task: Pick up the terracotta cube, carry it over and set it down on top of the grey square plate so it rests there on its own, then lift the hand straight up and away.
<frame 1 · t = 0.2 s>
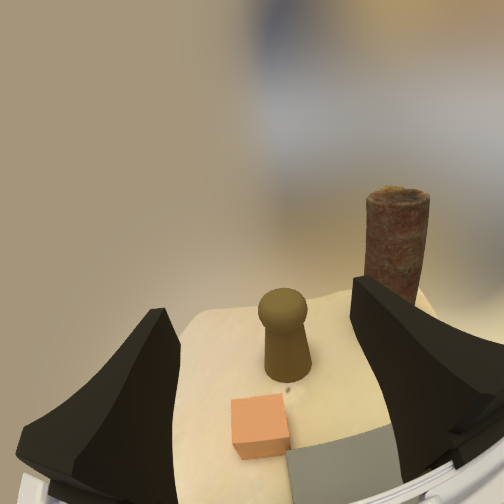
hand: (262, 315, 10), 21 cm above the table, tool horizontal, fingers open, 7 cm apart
terracotta cube: (264, 437, 24), on the table
cork: (288, 365, 33), on the table
candle: (382, 332, 35), on the table
grey square plate: (357, 494, 16), on the table
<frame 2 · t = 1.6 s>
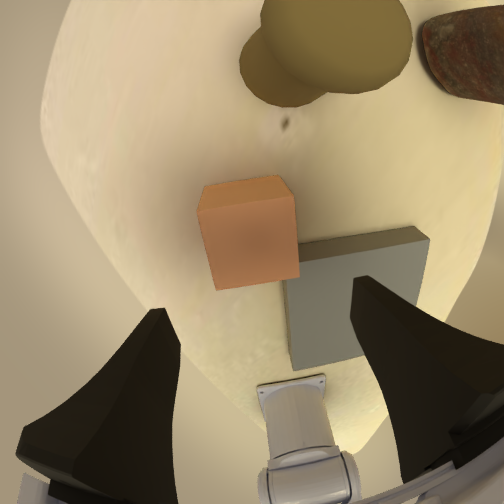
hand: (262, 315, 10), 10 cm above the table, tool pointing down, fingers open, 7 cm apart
terracotta cube: (246, 213, 19), on the table
cork: (286, 65, 15), on the table
candle: (444, 57, 14), on the table
grey square plate: (348, 292, 24), on the table
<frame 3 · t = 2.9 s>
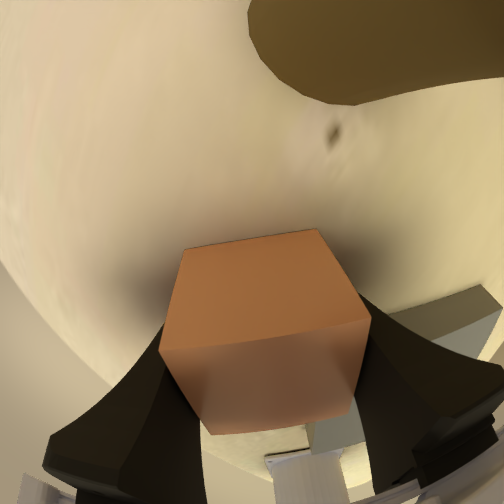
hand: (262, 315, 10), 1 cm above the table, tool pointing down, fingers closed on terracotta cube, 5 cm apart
terracotta cube: (258, 292, 11), on the table, touching gripper
cork: (334, 28, 7), on the table
grey square plate: (388, 367, 16), on the table
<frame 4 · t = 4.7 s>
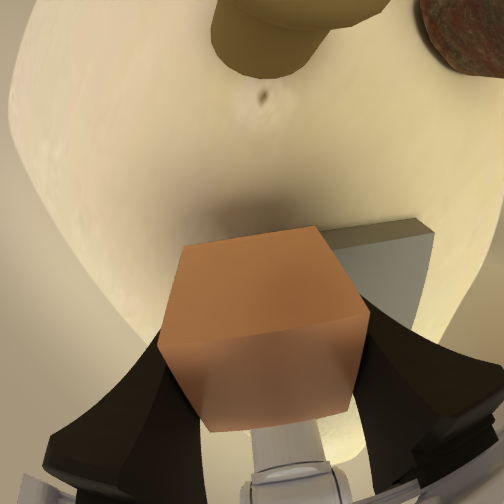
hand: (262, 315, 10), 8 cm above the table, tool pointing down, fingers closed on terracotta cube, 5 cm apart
terracotta cube: (258, 289, 12), point 7 cm above the table, touching gripper
cork: (264, 33, 12), on the table
candle: (445, 32, 11), on the table
grey square plate: (340, 293, 21), on the table
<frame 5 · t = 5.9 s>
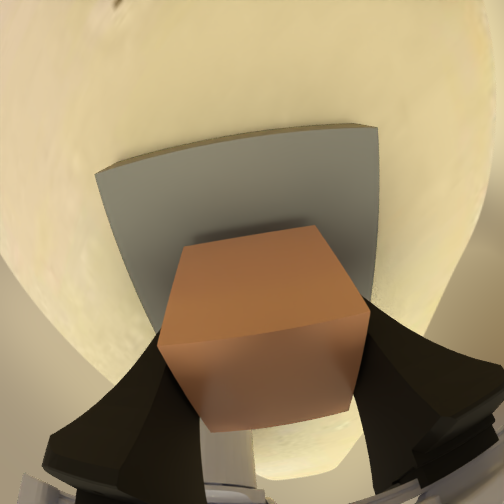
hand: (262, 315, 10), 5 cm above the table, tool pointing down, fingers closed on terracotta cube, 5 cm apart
terracotta cube: (258, 289, 11), point 4 cm above the table, touching gripper
grey square plate: (251, 243, 15), on the table
when the fingers open (5 cm above the table, at t = 6.7 s): terracotta cube drops 1 cm, resting on grey square plate.
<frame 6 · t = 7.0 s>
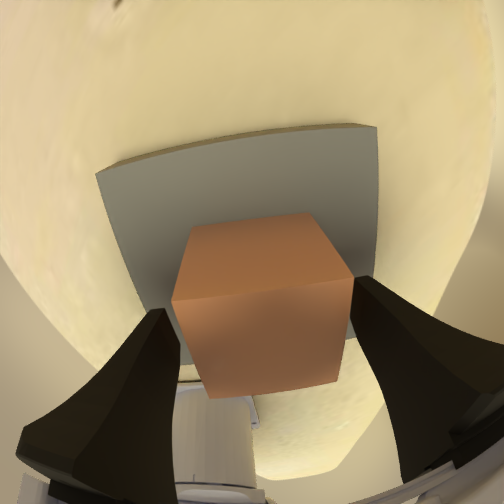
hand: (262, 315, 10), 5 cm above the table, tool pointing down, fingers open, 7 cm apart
terracotta cube: (256, 269, 13), point 2 cm above the table, touching grey square plate
grey square plate: (251, 242, 15), on the table, touching terracotta cube
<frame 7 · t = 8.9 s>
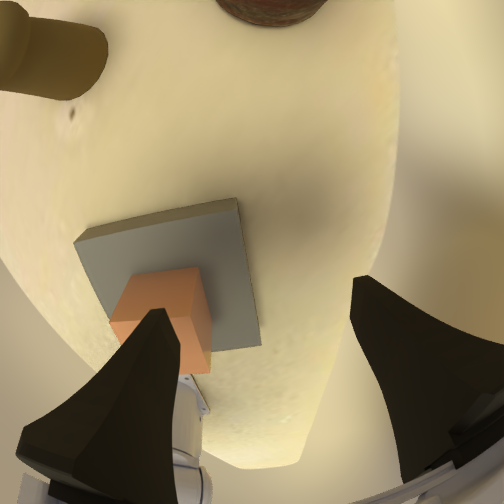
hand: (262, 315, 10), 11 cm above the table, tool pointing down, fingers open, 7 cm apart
terracotta cube: (172, 299, 20), point 2 cm above the table
cork: (73, 62, 13), on the table
grey square plate: (176, 278, 22), on the table
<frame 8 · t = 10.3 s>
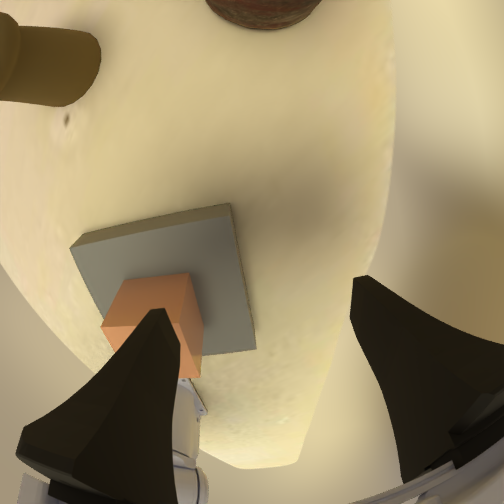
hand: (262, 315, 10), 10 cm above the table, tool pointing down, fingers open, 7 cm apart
terracotta cube: (164, 304, 20), point 2 cm above the table
cork: (67, 68, 13), on the table
grey square plate: (171, 282, 22), on the table
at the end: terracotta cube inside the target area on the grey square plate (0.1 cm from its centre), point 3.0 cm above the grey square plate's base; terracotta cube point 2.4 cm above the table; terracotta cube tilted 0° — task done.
